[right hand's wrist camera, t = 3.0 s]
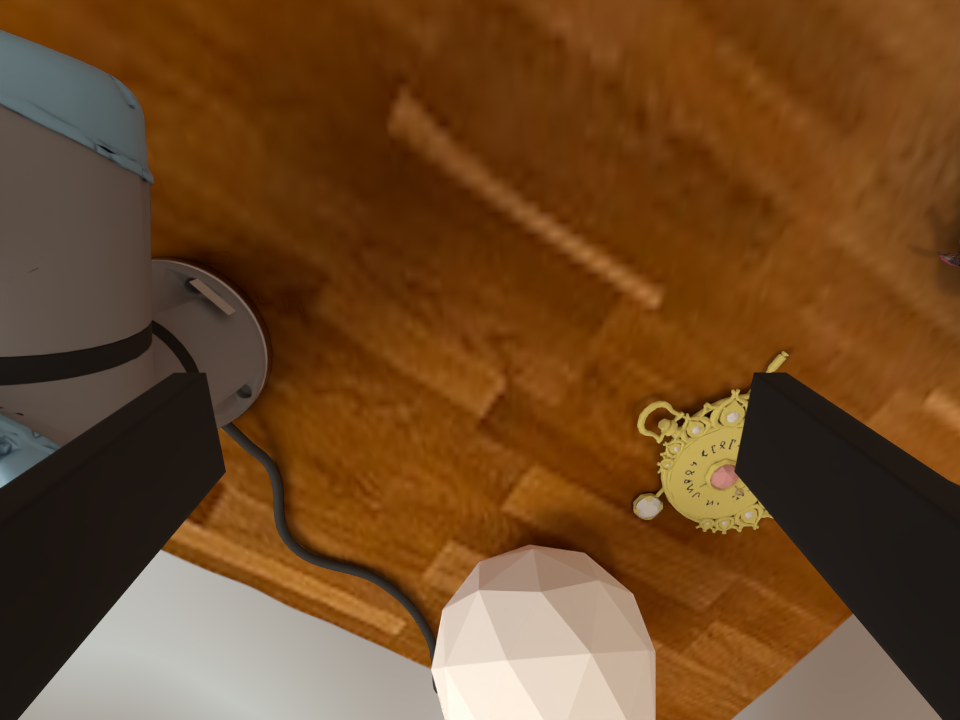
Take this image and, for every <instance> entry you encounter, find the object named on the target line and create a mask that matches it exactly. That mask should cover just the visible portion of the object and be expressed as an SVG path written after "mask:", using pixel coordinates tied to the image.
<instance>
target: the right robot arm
mask: <svg viewBox="0 0 960 720" xmlns="http://www.w3.org/2000/svg"><path fill="white" fill-rule="evenodd" d="M150 184H154V179H153V176H152V174H151V172H150V171H149V168H148V157H147V145H146V132H145V119H144V114H143V111H142V108H141V106H140V104H139V102H138V100H137V99H136V97H135V96H134V94H133V93H132V92H131V91H130V90H129V89H128V88H127V87H126V86H125V85H124V84H123V83H122V82H120V81H119V80H118V79H116V78H115V77H113V76H111V75H110V74H108V73H106V72H104V71H102V70H100V69H98V68H96V67H94V66H91V65H89V64H87V63H84V62H82V61H80V60H77V59H75V58H73V57H70V56H68V55H65V54H63V53H60V52H58V51H55V50H53V49H50V48H47V47H45V46H42V45H40V44H37V43H35V42H32V41H29V40H27V39H24V38H21V37H19V36H16V35H13V34H10V33H8V32H5V31H2V30H0V720H18V718H19V717H20V716H21V715H22V714H23V712H24V711H25V710H26V709H27V708H28V707H29V705H30V704H31V703H32V702H33V701H34V699H35V698H36V697H37V696H38V695H39V693H40V692H41V691H42V690H43V689H44V687H45V686H46V685H47V684H48V683H49V681H50V680H51V679H52V678H53V677H54V676H55V674H56V673H57V672H58V671H59V670H60V668H61V667H62V666H63V665H64V664H65V663H66V661H67V660H68V659H69V658H70V657H71V655H72V654H73V653H74V652H75V651H76V649H77V648H78V647H79V646H80V645H81V643H82V642H83V641H84V640H85V639H86V638H87V636H88V635H89V634H90V633H91V632H92V630H93V629H94V628H95V627H96V626H97V624H98V623H99V622H100V621H101V620H102V618H103V617H104V616H105V615H106V614H107V613H108V611H109V610H110V609H111V608H112V607H113V605H114V604H115V603H116V602H117V601H118V599H119V598H120V597H121V596H122V595H123V593H124V592H125V591H126V590H127V589H128V588H129V586H130V585H131V584H132V583H133V581H134V580H135V579H136V578H137V577H138V576H139V574H140V573H141V572H142V571H143V570H144V568H145V567H146V566H147V565H148V564H149V563H150V561H151V560H152V559H153V558H154V557H155V555H156V554H157V553H158V552H159V551H160V549H161V548H162V547H163V546H164V545H165V544H166V542H167V541H168V540H169V539H170V538H171V536H172V535H173V534H174V533H175V532H176V530H177V529H178V528H179V527H180V526H181V524H182V523H183V522H184V521H185V520H186V519H187V517H188V516H189V515H190V514H191V513H192V511H193V510H194V509H195V508H196V507H197V505H198V504H199V503H200V502H201V501H202V499H203V498H204V497H205V496H206V495H207V494H208V492H209V491H210V490H211V489H212V488H213V486H214V485H215V484H216V483H217V482H218V480H219V479H220V478H221V477H222V476H223V474H224V473H225V472H226V470H225V465H224V460H223V455H222V450H221V445H220V440H219V435H218V430H217V429H218V428H222V429H223V430H225V431H226V432H227V433H228V434H229V435H230V436H231V437H232V438H233V439H234V440H235V441H236V442H237V443H238V444H239V445H240V446H241V447H243V448H244V449H245V450H246V451H247V452H248V453H250V454H251V455H252V456H254V457H255V458H256V459H258V460H259V461H260V462H261V463H262V464H263V465H264V467H265V468H266V470H267V472H268V474H269V476H270V479H271V483H272V488H273V500H274V517H275V523H276V527H277V530H278V533H279V535H280V537H281V538H282V540H283V542H284V543H285V544H286V545H287V546H288V548H289V549H290V550H291V551H293V552H294V553H295V554H296V555H297V556H299V557H300V558H302V559H303V560H305V561H307V562H309V563H311V564H314V565H317V566H319V567H323V568H326V569H330V570H334V571H338V572H343V573H347V574H351V575H354V576H358V577H361V578H363V579H366V580H369V581H371V582H373V583H375V584H376V585H378V586H380V587H381V588H383V589H384V590H386V591H387V592H388V593H390V594H391V595H392V596H393V597H394V598H396V599H397V600H398V601H399V602H400V603H401V604H402V605H403V606H404V607H405V608H406V609H407V610H408V611H409V613H410V614H411V615H412V617H413V618H414V619H415V621H416V623H417V624H418V626H419V627H420V629H421V631H422V633H423V635H424V637H425V639H426V641H427V643H428V647H429V650H430V656H431V664H432V663H433V658H434V653H435V648H436V641H435V638H434V636H433V633H432V632H431V630H430V628H429V626H428V624H427V622H426V621H425V619H424V617H423V616H422V614H421V613H420V611H419V610H418V609H417V607H416V606H415V605H414V604H413V603H412V602H411V600H410V599H409V598H408V597H407V596H406V595H404V594H403V593H402V592H401V591H400V590H399V589H398V588H396V587H395V586H394V585H393V584H391V583H390V582H389V581H387V580H386V579H384V578H383V577H381V576H379V575H378V574H375V573H373V572H371V571H369V570H366V569H363V568H360V567H357V566H353V565H349V564H345V563H341V562H337V561H333V560H329V559H326V558H322V557H320V556H317V555H315V554H313V553H311V552H309V551H307V550H306V549H304V548H303V547H301V546H300V545H299V544H298V543H297V542H296V541H295V540H294V539H293V538H292V536H291V535H290V533H289V531H288V529H287V526H286V523H285V518H284V504H283V487H282V481H281V477H280V474H279V471H278V469H277V467H276V465H275V464H274V462H273V461H272V459H271V458H270V457H269V456H268V455H267V454H266V453H265V452H264V451H263V450H261V449H260V448H259V447H257V446H256V445H255V444H254V443H253V442H251V441H250V440H249V439H248V438H247V437H246V436H245V435H244V434H243V433H242V432H241V431H240V430H239V429H238V428H237V427H236V426H235V425H234V424H233V423H232V421H233V420H235V419H237V418H238V417H239V416H241V415H242V414H243V413H244V412H245V411H247V410H248V409H249V408H250V406H251V405H252V404H253V403H254V402H255V401H256V400H257V399H258V397H259V396H260V395H261V393H262V392H263V390H264V388H265V386H266V384H267V381H268V379H269V375H270V372H271V365H272V347H271V342H270V337H269V334H268V330H267V328H266V325H265V323H264V321H263V319H262V317H261V315H260V313H259V311H258V310H257V308H256V307H255V305H254V304H253V303H252V301H251V300H250V299H249V298H248V296H247V295H246V294H245V293H244V292H243V291H242V290H241V289H240V288H239V287H238V286H237V285H235V284H234V283H233V282H232V281H230V280H229V279H228V278H226V277H225V276H223V275H222V274H220V273H218V272H216V271H215V270H213V269H211V268H209V267H206V266H204V265H202V264H199V263H196V262H193V261H189V260H185V259H179V258H170V257H157V258H151V203H150ZM734 472H735V473H736V474H737V476H738V477H739V478H740V479H741V480H742V482H743V483H744V484H745V485H746V486H747V488H748V489H749V490H750V491H751V492H752V494H753V495H754V496H755V497H756V498H757V499H758V501H759V502H760V503H761V504H762V505H763V507H764V508H765V509H766V510H767V511H768V513H769V514H770V515H771V516H772V517H773V519H774V520H775V521H776V522H777V523H778V524H779V526H780V527H781V528H782V529H783V530H784V532H785V533H786V534H787V535H788V536H789V538H790V539H791V540H792V541H793V542H794V544H795V545H796V546H797V547H798V548H799V549H800V551H801V552H802V553H803V554H804V555H805V557H806V558H807V559H808V560H809V561H810V563H811V564H812V565H813V566H814V567H815V568H816V570H817V571H818V572H819V573H820V574H821V576H822V577H823V578H824V579H825V580H826V582H827V583H828V584H829V585H830V586H831V588H832V589H833V590H834V591H835V592H836V593H837V595H838V596H839V597H840V598H841V599H842V601H843V602H844V603H845V604H846V605H847V607H848V608H849V609H850V610H851V611H852V613H853V614H854V615H855V616H856V617H857V618H858V620H859V621H860V622H861V623H862V624H863V626H864V627H865V628H866V629H867V630H868V631H869V633H870V634H871V635H872V636H873V637H874V639H875V640H876V641H877V642H878V643H879V645H880V646H881V647H882V648H883V649H884V651H885V652H886V653H887V654H888V655H889V656H890V658H891V659H892V660H893V661H894V663H895V664H896V665H897V666H898V667H899V668H900V670H901V671H902V672H903V673H904V674H905V676H906V677H907V678H908V679H909V680H910V682H911V683H912V684H913V685H914V686H915V687H916V689H917V690H918V691H919V692H920V693H921V695H922V696H923V697H924V698H925V699H926V701H927V702H928V703H929V704H930V705H931V707H932V708H933V709H934V710H935V711H936V712H937V714H938V715H939V716H940V717H941V718H942V720H960V485H957V484H955V483H953V482H951V481H949V480H947V479H945V478H944V477H942V476H941V475H939V474H938V473H936V472H935V471H933V470H932V469H930V468H929V467H927V466H926V465H924V464H923V463H921V462H920V461H918V460H917V459H915V458H914V457H912V456H911V455H909V454H908V453H906V452H905V451H903V450H902V449H900V448H899V447H897V446H896V445H894V444H893V443H891V442H890V441H888V440H887V439H885V438H884V437H882V436H881V435H879V434H878V433H876V432H875V431H873V430H872V429H870V428H869V427H867V426H866V425H864V424H863V423H861V422H860V421H858V420H857V419H855V418H854V417H852V416H851V415H849V414H848V413H846V412H845V411H843V410H842V409H840V408H839V407H837V406H836V405H834V404H833V403H831V402H830V401H828V400H827V399H825V398H824V397H822V396H821V395H819V394H818V393H816V392H815V391H813V390H812V389H810V388H809V387H807V386H806V385H804V384H802V383H801V382H799V381H798V380H796V379H795V378H793V377H792V376H790V375H789V374H787V373H754V375H753V380H752V385H751V390H750V395H749V400H748V405H747V410H746V415H745V420H744V425H743V430H742V435H741V440H740V445H739V450H738V455H737V460H736V465H735V470H734ZM432 679H433V687H434V690H435V692H436V693H437V689H436V685H435V682H434V678H433V675H432ZM437 694H438V693H437Z"/></svg>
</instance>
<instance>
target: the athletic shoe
mask: <svg viewBox="0 0 960 720" xmlns="http://www.w3.org/2000/svg"><path fill="white" fill-rule="evenodd" d="M959 244H960V242H959ZM938 254H939V255H940V257H941V259H942V260H943V261H944V262H946V263H948V264H949V265H953V266H957V267H960V258H958V259H957V258H956V257H955V256H951V255H950V254H945V255H942V254H940V253H939V252H938ZM957 255H960V250H959V251H958V253H957V254H956V256H957Z"/></svg>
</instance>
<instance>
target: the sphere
mask: <svg viewBox="0 0 960 720" xmlns="http://www.w3.org/2000/svg"><path fill="white" fill-rule="evenodd" d="M431 671H432V675H433V678H434V682H435V685H436V689H437V693H438V696H439V700H440V704H441V707H442V711H443V715H444V718H445V720H655V650H654V647H653V645H652V642H651V639H650V637H649V634H648V632H647V629H646V626H645V624H644V621H643V618H642V616H641V613H640V611H639V608H638V605H637V603H636V600H635V598H634V595H633V594H632V593H631V592H630V591H629V590H628V589H627V588H625V587H624V586H623V585H622V584H621V583H619V582H618V581H617V580H616V579H615V578H614V577H612V576H611V575H610V574H609V573H608V572H606V571H605V570H604V569H603V568H602V567H601V566H599V565H598V564H597V563H596V562H595V561H594V560H592V559H591V558H590V557H589V556H588V555H586V554H585V553H583V552H576V551H569V550H562V549H556V548H549V547H542V546H535V545H527V546H524V547H521V548H518V549H515V550H512V551H509V552H506V553H503V554H500V555H497V556H494V557H491V558H488V559H485V560H482V561H480V562H479V563H478V564H477V565H476V567H475V568H474V569H473V571H472V572H471V573H470V575H469V576H468V577H467V579H466V580H465V581H464V583H463V584H462V585H461V586H460V588H459V589H458V590H457V592H456V593H455V594H454V596H453V597H452V598H451V600H450V601H449V602H448V604H447V605H446V606H445V607H444V609H443V611H442V616H441V622H440V627H439V632H438V637H437V642H436V648H435V653H434V658H433V663H432V669H431Z"/></svg>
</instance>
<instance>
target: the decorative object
mask: <svg viewBox="0 0 960 720" xmlns="http://www.w3.org/2000/svg"><path fill="white" fill-rule="evenodd" d="M785 356H789V355H788V354H787V353H786V352H784V351H782V354H781V355H780V354H779V355H778V356H777V357H776V358H775V359H774V360H773V361H772V363H771V364H770V365H769V366H768V370H767V371H766V372H765V373H771V372H774V371H775V370H776V369H777V368H778V367H779V366H780V365H781V364H782V363H783V362H784V361H785V360H786V358H785ZM750 390H751V389H750ZM750 390H749V391H748V393H747V394H741V395H738V394H739V392H740V390H739V389H736V391H735V390H734V389H733V390H731V391H732V396H731V397H728V398H724V399H721V400H719V401H717V402H714V403H712V404H709V403H706V404H704V408H703V409H702V410H700V411H699V412H697V413H696V414H694V415H693V416H692V417H689V414H687V413H686V416H684V415H685V414H684V413H683V412H682V411H681V412H677V411H675V410H673V408H672V406H671V404H669V403H667V402H666V401H657V402H654V403H652V404H650V405H649V406H648V407H646V408H645V409H644V410H643V411H642V412H641V414H640V416H639V420H638V424H637V427H638V429H639V431H640V433H642V434H644V435H646V436H653V437H654V438H655V439H656V441H657V442H658V443H661V441H662V440H663V438H664V435H667V436H670V435H672V437H673V438H672V439H671V441H670V442H669V443H667V442H665V443H664V444H663V446H666V451H665V452H664V453H660V455H661V456H663V460H662V461H661V462H658V464H657V465H658V466H659V465H660V467H661V468H660V470H659V471H658V473H660V472H661V480H662V486H663V487H662V489H661V490H660V491H659V492H658V493H657V494H656V495H655V494H652V493H647V494H642V495H640V496H639V497H638V498H637V499H636V500H635V501H634V502H633V511H634V513H635V514H636V516H638V517H639V518H641V519H644V520H650V519H653V518H654V517H656V516H657V515H658V514H659V513H660V511H661V510H662V509H663V503H662V502H661V500H660V499H659V496H660V495H661V494H662V493H663V492H665V495H666V497H667V499H668V501H669V502H670V503H671V504H672V505H673V507H674V508H675V509H676V510H677V511H679V512H680V513H681V514H682V515H684V516H685V517H686V518H689V519H691V520H693V521H695V522H698V523H699V525H698V526H696V529H697V528H699V527H702V528H703V530H702V531H703V532H704V531H705V532H706V530H707V529H709V528H711V529H712V532H713V533H715V532H716V530H720V531H723V532H722V534H726V531H727V530H728V529H730V528H734V529H737V531H738V532H741V530H742V528H743V527H744V526H752V527H753V530H756V528H759V526H757V523H758V521H759V520H760V519H761V518H765V517H770V518H773V517H772V516H771V515H770V514H768V511H767V510H766V509H765V508H764V507H763V505H762V504H761V503H760V502H759V501H758V499H757V498H756V497H755V496H754V495H753V494H752V492H751V491H750V490H749V489H748V488H747V486H746V485H745V484H744V483H743V482H742V480H741V479H740V478H739V477H738V476H737V474H736V473H735V472H734V470H735V465H736V460H737V455H738V450H739V445H740V440H741V435H742V430H743V425H744V420H745V418H744V416H745V415H746V410H747V405H748V401H747V399H749V395H750ZM737 401H739V403H738V402H737ZM744 406H745V410H744V408H743V407H744ZM659 407H664V408H667V409H668V410H669V411H670V412H671V413H672V414H674V415H676V417H675V418H674V419H673V420H668V419H662V420H661V421H660V422H659V423H658V428H660V429H661V432H662V433H661V434H660V435H659V436H658V435H657V434H655V433H653V432H651V431H649V430H646V429H645V428H644V423H645V420H646V418H647V416H648V414H649V413H651V412H652V411H653V410H655V409H656V408H659ZM712 410H713V412H712V413H711V416H710V418H708V417H704V415H705V414H707V413H708V412H710V411H712ZM682 417H683V418H685V423H684V424H683V425H682V426H679V427H677V426H678V424H677V422H676V421H678V420H679V419H681V418H682ZM743 418H744V419H743ZM718 419H719V421H720V423H719V422H718ZM699 420H700V421H701V422H700V421H699ZM702 422H703V423H704V424H706V425H705V427H704V424H703V423H702ZM687 434H688V435H689V437H688V436H687ZM680 437H681V439H682V440H681V439H679V438H680ZM757 501H758V503H756V502H757ZM755 508H756V509H757V510H756V509H755ZM732 515H734V516H733V517H732ZM739 517H740V518H739ZM713 519H715V520H713ZM735 524H737V525H739V528H738V527H737V526H734V525H735ZM703 526H704V527H703ZM713 526H715V528H713ZM719 526H720V527H719Z"/></svg>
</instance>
